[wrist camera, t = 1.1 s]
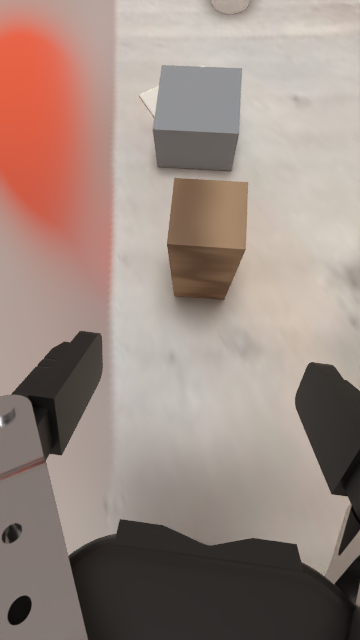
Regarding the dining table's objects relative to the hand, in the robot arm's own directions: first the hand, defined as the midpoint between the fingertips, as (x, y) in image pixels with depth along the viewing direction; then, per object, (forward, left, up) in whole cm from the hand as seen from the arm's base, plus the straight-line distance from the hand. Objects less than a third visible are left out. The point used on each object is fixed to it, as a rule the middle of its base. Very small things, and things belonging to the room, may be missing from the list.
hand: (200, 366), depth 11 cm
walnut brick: (-6, -9, -17) cm, 21 cm away
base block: (-15, -25, -17) cm, 34 cm away
